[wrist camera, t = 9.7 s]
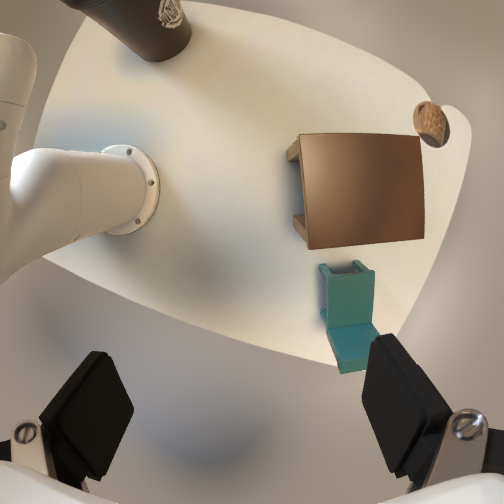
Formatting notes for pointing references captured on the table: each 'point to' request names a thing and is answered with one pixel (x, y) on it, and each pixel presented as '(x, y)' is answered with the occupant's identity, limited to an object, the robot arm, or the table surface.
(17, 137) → the robot arm
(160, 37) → the water bottle
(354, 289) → the chair
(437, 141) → the table surface
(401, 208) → the side table
